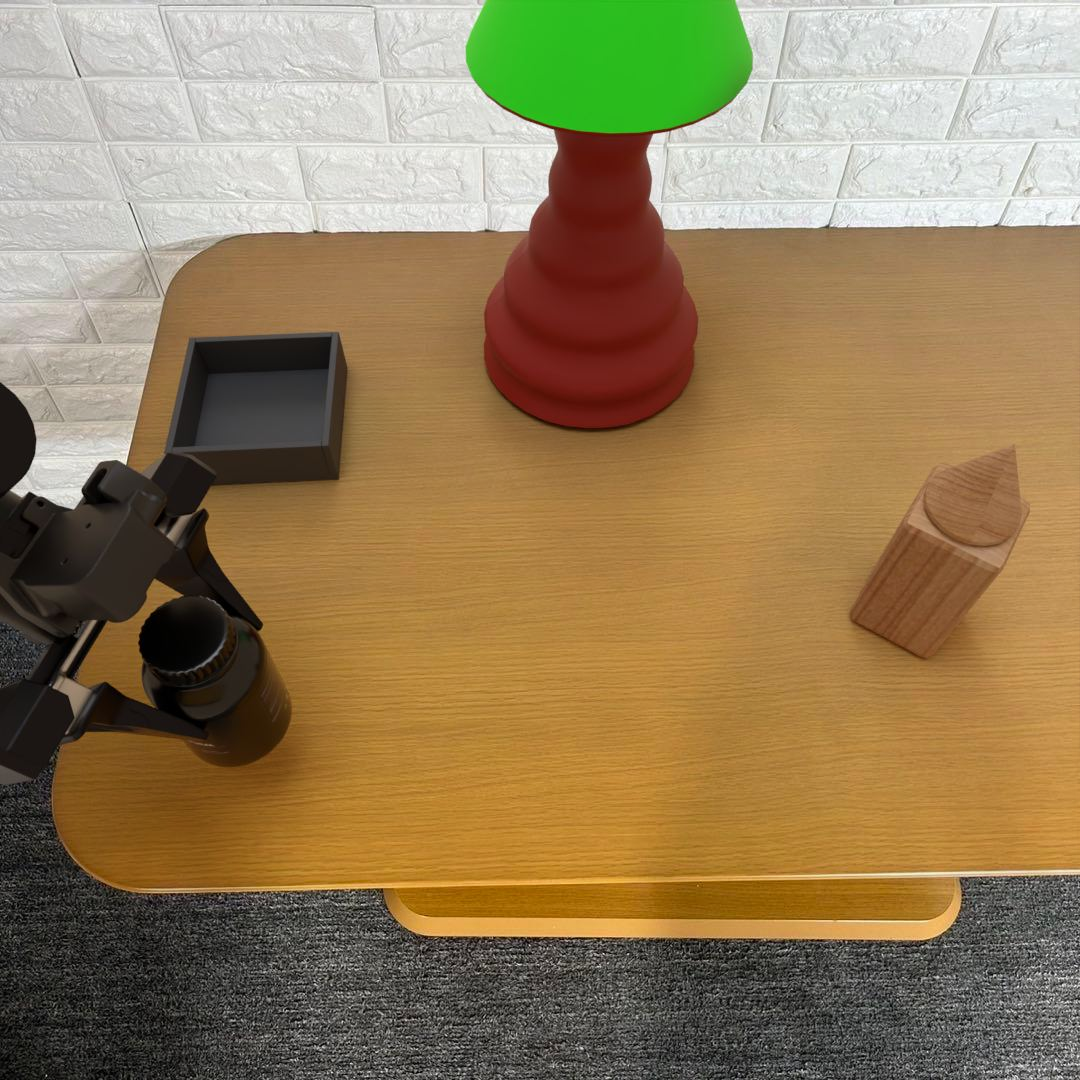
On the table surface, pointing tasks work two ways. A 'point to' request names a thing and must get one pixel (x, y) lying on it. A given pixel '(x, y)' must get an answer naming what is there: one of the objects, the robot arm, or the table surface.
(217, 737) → the supplement bottle
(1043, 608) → the table surface
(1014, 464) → the decorative item
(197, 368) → the bin
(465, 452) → the table surface
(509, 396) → the table lamp
